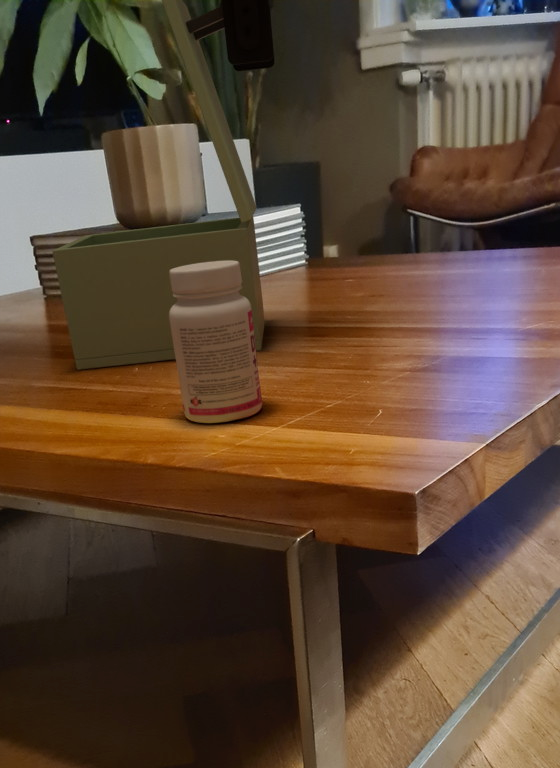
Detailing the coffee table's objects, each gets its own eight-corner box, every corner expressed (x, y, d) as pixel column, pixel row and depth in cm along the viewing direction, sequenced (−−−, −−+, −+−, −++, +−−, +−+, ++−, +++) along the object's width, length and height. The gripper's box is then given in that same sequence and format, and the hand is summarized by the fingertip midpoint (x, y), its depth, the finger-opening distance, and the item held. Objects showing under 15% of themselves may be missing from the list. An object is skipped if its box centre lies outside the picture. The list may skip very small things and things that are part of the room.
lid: (155, -16, 60) (225, -48, 59) (176, 9, 71) (235, -18, 70) (241, 223, 67) (304, 197, 66) (248, 211, 78) (302, 189, 77)
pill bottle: (278, 411, 54) (261, 260, 50) (207, 429, 52) (184, 274, 48) (239, 398, 58) (220, 257, 54) (171, 415, 56) (148, 270, 52)
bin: (76, 370, 72) (51, 250, 68) (105, 339, 83) (85, 235, 79) (261, 350, 71) (247, 228, 67) (264, 322, 82) (253, 215, 78)
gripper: (179, -205, 67) (211, 79, 75) (146, -307, 52) (191, 63, 60) (280, -218, 67) (301, 68, 75) (278, -325, 51) (305, 50, 60)
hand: (252, 63), depth 68 cm, fingers closed on lid, 6 cm apart
